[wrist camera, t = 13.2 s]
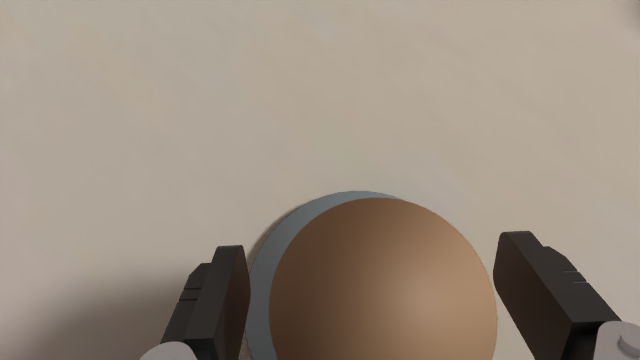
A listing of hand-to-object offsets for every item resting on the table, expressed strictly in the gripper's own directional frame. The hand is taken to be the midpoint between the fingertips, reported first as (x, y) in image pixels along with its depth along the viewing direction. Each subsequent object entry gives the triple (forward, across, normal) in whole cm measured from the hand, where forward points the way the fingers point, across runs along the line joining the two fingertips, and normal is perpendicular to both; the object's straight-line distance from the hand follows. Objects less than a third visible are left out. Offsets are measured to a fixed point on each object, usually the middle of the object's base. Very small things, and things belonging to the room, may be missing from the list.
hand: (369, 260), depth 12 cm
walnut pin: (+4, 0, +6) cm, 7 cm away
